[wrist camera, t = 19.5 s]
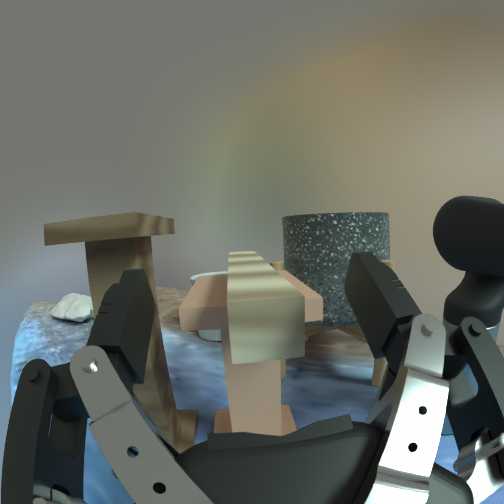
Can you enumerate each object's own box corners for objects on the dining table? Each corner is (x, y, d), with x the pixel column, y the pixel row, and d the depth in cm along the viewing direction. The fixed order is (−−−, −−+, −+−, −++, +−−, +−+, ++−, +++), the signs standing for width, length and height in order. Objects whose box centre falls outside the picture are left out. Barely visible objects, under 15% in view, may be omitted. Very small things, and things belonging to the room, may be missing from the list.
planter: (272, 378, 52) (265, 216, 49) (300, 338, 72) (297, 218, 70) (383, 387, 43) (393, 210, 40) (382, 341, 63) (385, 214, 61)
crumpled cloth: (92, 301, 114) (86, 283, 112) (120, 316, 92) (113, 292, 90) (50, 318, 96) (43, 298, 94) (66, 339, 74) (57, 314, 72)
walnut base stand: (189, 487, 24) (135, 212, 21) (116, 478, 23) (43, 224, 20) (198, 416, 40) (173, 219, 37) (142, 414, 39) (108, 225, 36)
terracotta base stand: (311, 477, 25) (323, 297, 23) (213, 487, 24) (178, 308, 22) (288, 410, 41) (285, 270, 39) (216, 416, 40) (199, 275, 38)
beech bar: (304, 356, 12) (304, 295, 12) (232, 364, 12) (226, 302, 12) (255, 272, 38) (253, 250, 38) (230, 274, 38) (228, 252, 38)
